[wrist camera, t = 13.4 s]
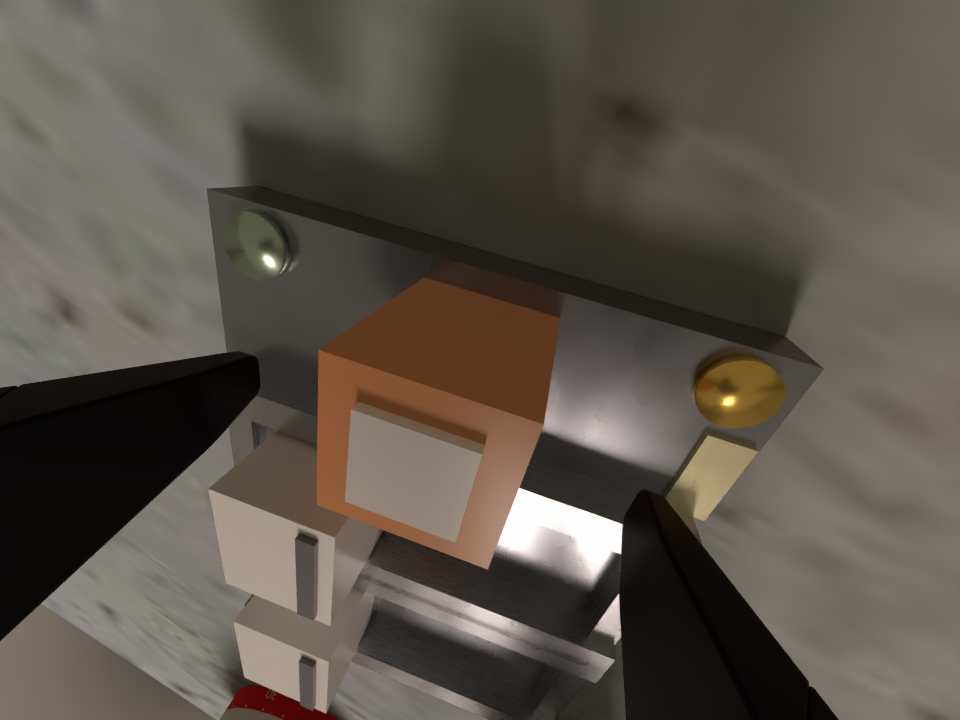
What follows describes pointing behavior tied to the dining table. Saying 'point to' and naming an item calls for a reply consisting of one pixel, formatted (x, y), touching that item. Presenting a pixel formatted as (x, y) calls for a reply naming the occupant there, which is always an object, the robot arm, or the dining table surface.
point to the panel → (556, 458)
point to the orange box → (434, 416)
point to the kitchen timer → (269, 707)
